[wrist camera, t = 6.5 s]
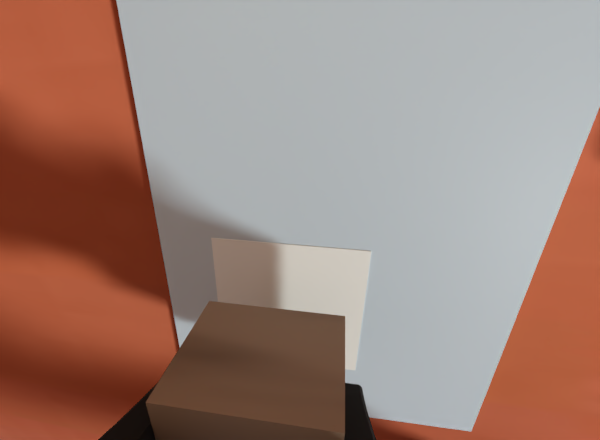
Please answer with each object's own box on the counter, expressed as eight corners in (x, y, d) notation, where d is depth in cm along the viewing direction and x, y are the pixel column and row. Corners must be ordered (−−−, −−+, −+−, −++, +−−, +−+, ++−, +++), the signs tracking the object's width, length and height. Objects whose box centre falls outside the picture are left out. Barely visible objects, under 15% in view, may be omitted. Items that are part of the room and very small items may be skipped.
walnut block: (335, 409, 13) (331, 538, 9) (220, 393, 13) (174, 507, 10) (345, 316, 11) (344, 433, 7) (208, 300, 11) (145, 402, 8)
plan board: (467, 420, 17) (471, 432, 16) (192, 382, 19) (187, 392, 18) (635, -27, 9) (656, -34, 8) (123, -21, 11) (110, -27, 10)
